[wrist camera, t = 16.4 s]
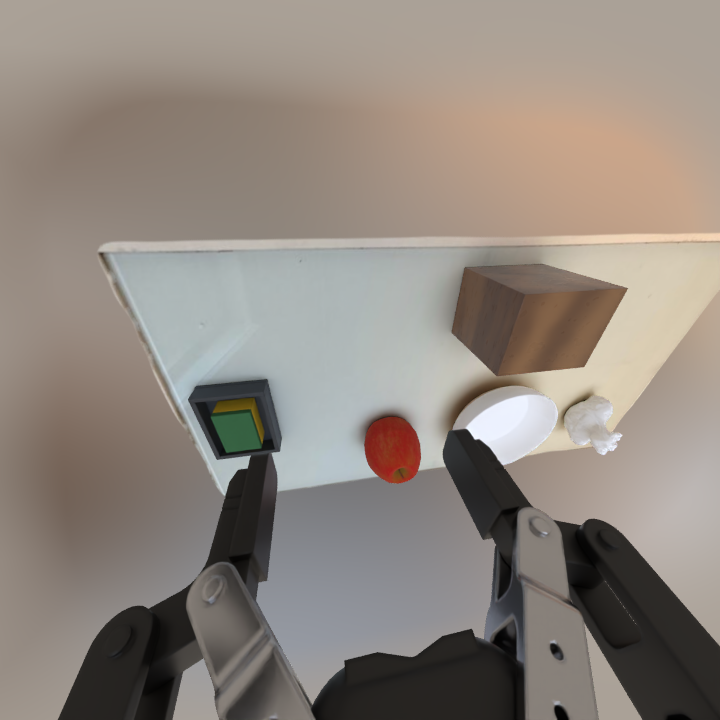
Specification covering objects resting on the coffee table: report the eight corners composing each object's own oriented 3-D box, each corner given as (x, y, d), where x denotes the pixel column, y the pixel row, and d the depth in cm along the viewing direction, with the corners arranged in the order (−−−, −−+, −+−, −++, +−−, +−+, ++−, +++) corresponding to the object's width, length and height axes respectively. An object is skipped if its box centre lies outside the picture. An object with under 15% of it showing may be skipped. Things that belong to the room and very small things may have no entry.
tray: (195, 386, 39) (187, 399, 36) (267, 379, 40) (264, 391, 37) (222, 445, 46) (216, 460, 43) (281, 437, 47) (280, 451, 44)
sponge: (217, 401, 40) (210, 417, 37) (254, 397, 41) (249, 412, 38) (231, 436, 44) (226, 453, 41) (264, 432, 45) (261, 448, 42)
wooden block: (451, 332, 41) (496, 376, 31) (464, 267, 35) (525, 294, 25) (519, 327, 42) (584, 367, 32) (542, 263, 37) (628, 288, 27)
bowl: (443, 385, 46) (460, 409, 41) (544, 363, 48) (572, 383, 42) (440, 452, 57) (453, 477, 52) (523, 433, 58) (543, 455, 53)
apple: (366, 452, 53) (377, 502, 44) (355, 419, 48) (365, 468, 39) (414, 439, 53) (434, 486, 45) (408, 404, 48) (430, 450, 39)
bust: (579, 382, 55) (590, 412, 47) (622, 396, 53) (643, 430, 44) (551, 422, 61) (557, 455, 53) (589, 436, 59) (601, 473, 50)
